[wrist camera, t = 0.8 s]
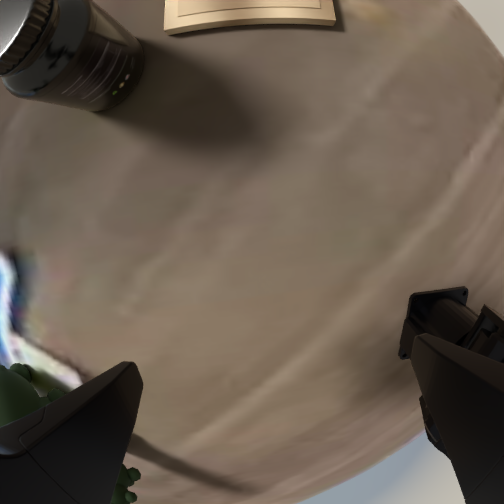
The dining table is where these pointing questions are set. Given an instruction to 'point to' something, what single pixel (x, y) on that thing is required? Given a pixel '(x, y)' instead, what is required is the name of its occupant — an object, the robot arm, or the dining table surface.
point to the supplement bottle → (67, 53)
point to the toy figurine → (28, 401)
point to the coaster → (244, 13)
